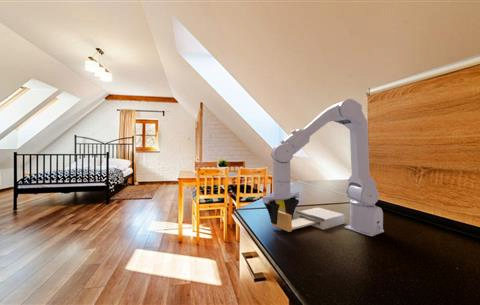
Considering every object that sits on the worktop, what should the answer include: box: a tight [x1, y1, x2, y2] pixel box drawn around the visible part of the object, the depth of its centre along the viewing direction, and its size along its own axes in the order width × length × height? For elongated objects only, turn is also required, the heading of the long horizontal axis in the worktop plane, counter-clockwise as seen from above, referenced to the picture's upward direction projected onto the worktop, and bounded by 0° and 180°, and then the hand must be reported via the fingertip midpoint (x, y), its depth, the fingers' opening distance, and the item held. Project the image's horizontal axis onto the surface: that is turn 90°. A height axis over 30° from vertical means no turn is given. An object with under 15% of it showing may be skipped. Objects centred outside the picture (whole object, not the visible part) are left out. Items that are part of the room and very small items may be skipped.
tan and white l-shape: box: [271, 211, 320, 233], centre depth 82 cm, size 17×8×5 cm, turn 122°
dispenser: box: [295, 207, 346, 230], centre depth 88 cm, size 12×12×4 cm
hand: (281, 221), depth 78 cm, fingers open, 6 cm apart
